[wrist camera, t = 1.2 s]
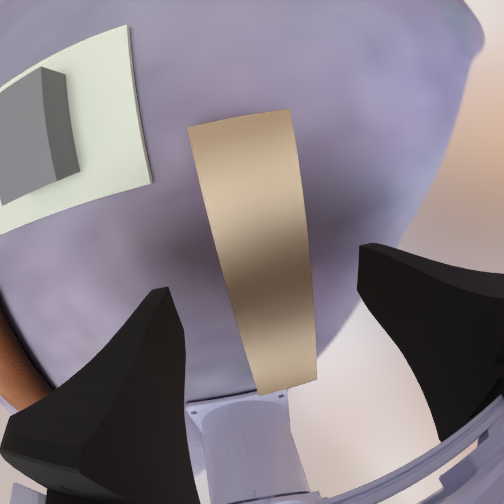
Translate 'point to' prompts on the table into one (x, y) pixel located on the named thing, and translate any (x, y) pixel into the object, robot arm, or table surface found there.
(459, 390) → the robot arm
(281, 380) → the beige piece
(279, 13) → the table surface
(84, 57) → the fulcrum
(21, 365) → the sunglasses case
